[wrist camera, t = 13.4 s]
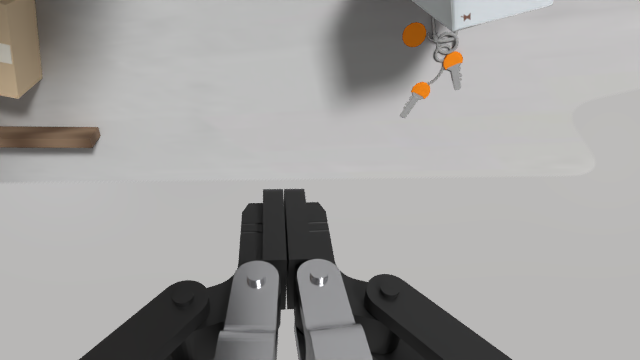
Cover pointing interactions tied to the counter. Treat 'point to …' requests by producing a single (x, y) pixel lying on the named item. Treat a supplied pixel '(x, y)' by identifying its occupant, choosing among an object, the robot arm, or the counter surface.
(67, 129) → the brown wooden u-shaped piece
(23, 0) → the kraft carton
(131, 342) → the robot arm
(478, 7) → the supplement box
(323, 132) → the counter surface
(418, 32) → the key chain
